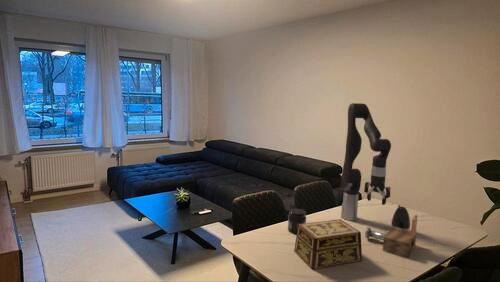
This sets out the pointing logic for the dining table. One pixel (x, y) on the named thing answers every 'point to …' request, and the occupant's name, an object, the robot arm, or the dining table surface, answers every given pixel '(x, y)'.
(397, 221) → the dark egg shape
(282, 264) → the dining table surface
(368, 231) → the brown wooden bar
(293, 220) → the supplement container
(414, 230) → the keeper flap
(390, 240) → the walnut block
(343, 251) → the decorative box
